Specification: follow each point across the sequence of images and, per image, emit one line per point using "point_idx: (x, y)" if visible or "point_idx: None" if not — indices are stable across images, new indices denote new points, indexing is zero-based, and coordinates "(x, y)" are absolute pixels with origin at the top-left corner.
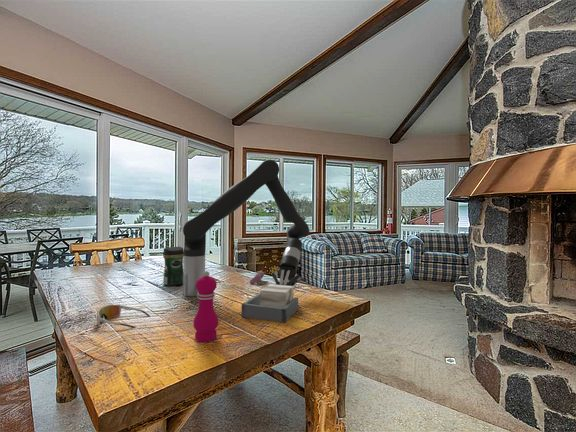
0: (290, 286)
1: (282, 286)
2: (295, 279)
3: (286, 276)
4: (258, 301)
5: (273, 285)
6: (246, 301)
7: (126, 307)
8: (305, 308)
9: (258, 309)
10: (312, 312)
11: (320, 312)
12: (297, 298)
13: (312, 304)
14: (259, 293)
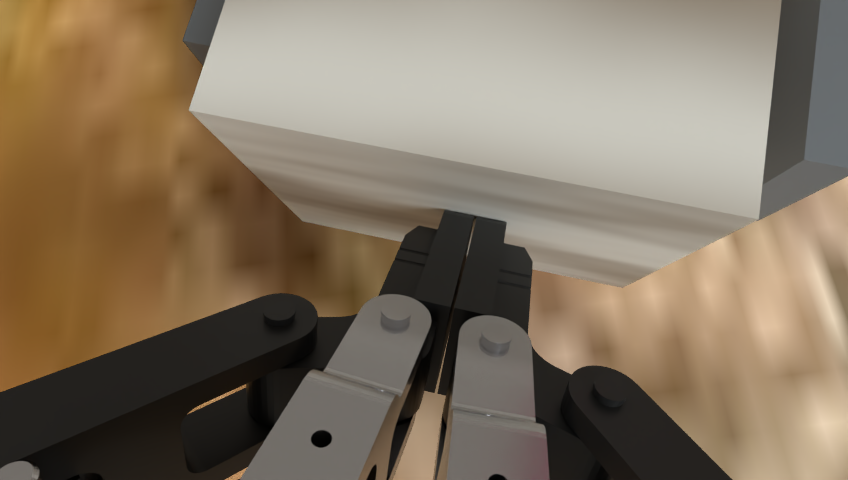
0: (252, 79)
1: (424, 57)
2: (69, 374)
3: (329, 466)
4: None
5: (637, 107)
6: None
7: None
8: (157, 156)
9: None
10: (93, 39)
11: (9, 51)
12: (194, 17)
13: (56, 323)
14: (842, 164)
